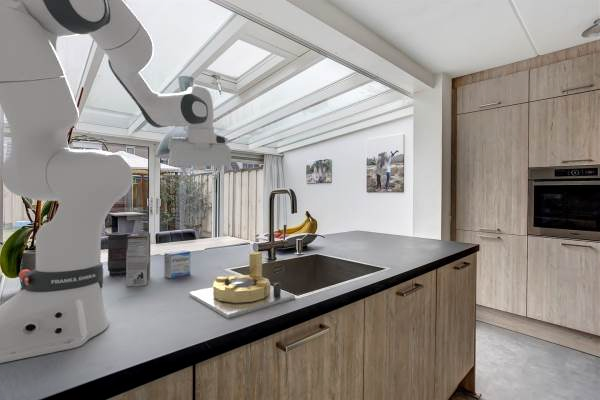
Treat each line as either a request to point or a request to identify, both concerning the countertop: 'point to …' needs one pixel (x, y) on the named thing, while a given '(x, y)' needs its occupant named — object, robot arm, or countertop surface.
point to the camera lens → (117, 254)
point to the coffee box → (138, 259)
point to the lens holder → (247, 294)
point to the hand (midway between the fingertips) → (202, 179)
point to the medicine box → (176, 264)
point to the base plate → (241, 307)
